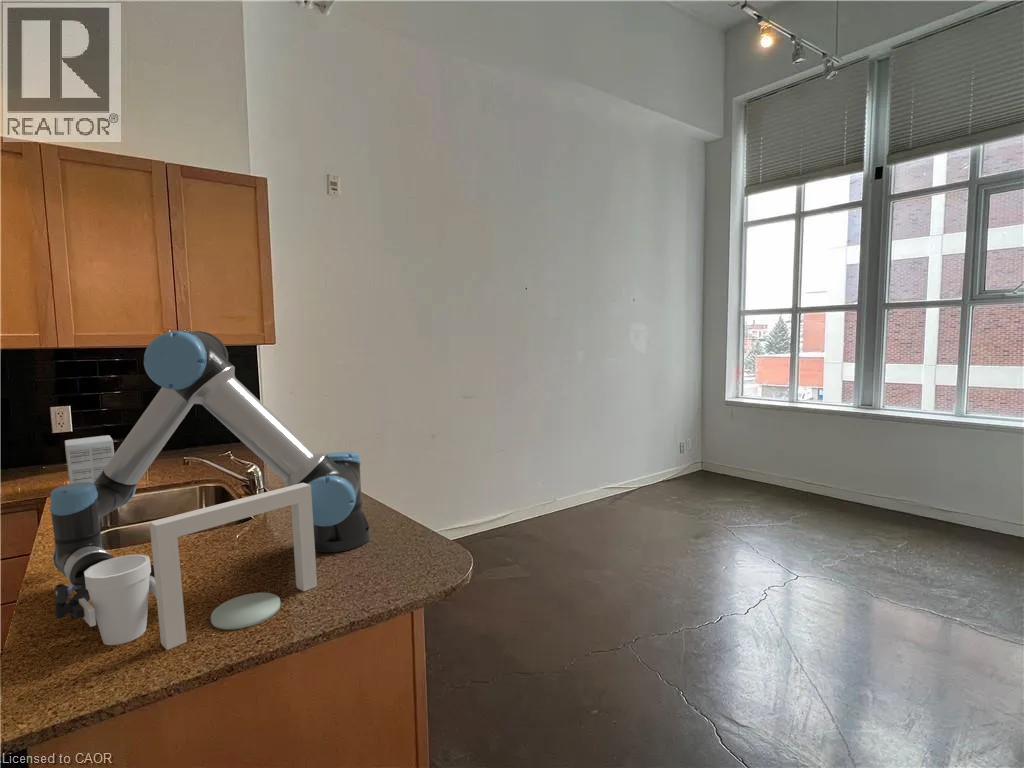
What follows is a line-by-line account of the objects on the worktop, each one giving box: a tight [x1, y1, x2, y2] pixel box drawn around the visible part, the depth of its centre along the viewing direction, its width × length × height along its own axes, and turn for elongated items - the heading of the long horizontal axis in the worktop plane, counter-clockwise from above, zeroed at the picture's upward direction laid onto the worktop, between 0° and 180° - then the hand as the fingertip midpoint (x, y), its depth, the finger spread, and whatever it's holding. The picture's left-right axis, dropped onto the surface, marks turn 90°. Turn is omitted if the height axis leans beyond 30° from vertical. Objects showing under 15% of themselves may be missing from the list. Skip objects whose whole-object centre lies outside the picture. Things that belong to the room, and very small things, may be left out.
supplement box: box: [64, 434, 115, 484], centre depth 188 cm, size 13×13×18 cm
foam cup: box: [84, 553, 152, 646], centre depth 93 cm, size 10×9×13 cm
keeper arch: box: [149, 483, 318, 651], centre depth 100 cm, size 28×12×22 cm, turn 141°
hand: (129, 605), depth 91 cm, fingers closed on foam cup, 9 cm apart
